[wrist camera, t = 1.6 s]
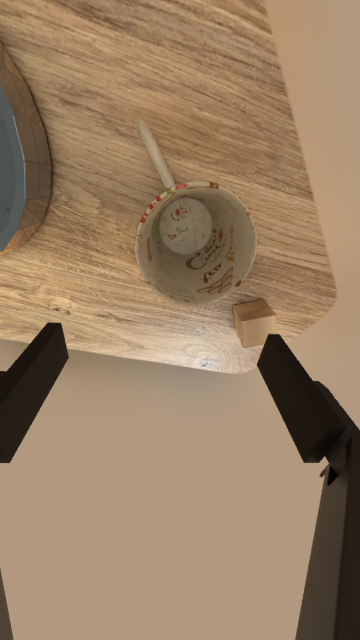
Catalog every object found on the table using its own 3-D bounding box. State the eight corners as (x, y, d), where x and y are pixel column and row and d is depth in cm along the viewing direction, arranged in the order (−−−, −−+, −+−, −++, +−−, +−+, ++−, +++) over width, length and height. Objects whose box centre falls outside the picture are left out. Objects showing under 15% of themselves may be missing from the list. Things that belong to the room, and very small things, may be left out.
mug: (170, 278, 27) (172, 323, 18) (102, 164, 21) (58, 153, 12) (236, 243, 25) (272, 275, 16) (183, 107, 19) (197, 47, 10)
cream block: (263, 298, 29) (276, 314, 25) (263, 324, 31) (275, 342, 28) (232, 305, 29) (241, 321, 26) (234, 330, 31) (243, 348, 28)
